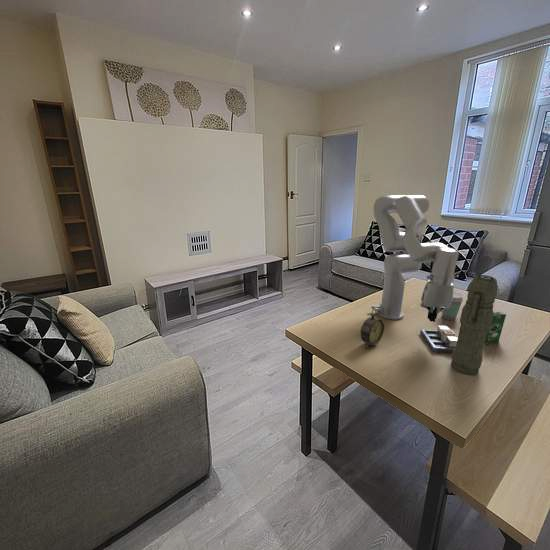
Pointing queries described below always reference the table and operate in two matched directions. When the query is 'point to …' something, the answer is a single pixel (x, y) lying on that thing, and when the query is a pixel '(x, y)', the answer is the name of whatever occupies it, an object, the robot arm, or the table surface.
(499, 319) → the coffee box
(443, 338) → the block
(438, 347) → the panel
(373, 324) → the alarm clock
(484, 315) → the thermos
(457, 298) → the coffee cup
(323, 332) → the table surface
